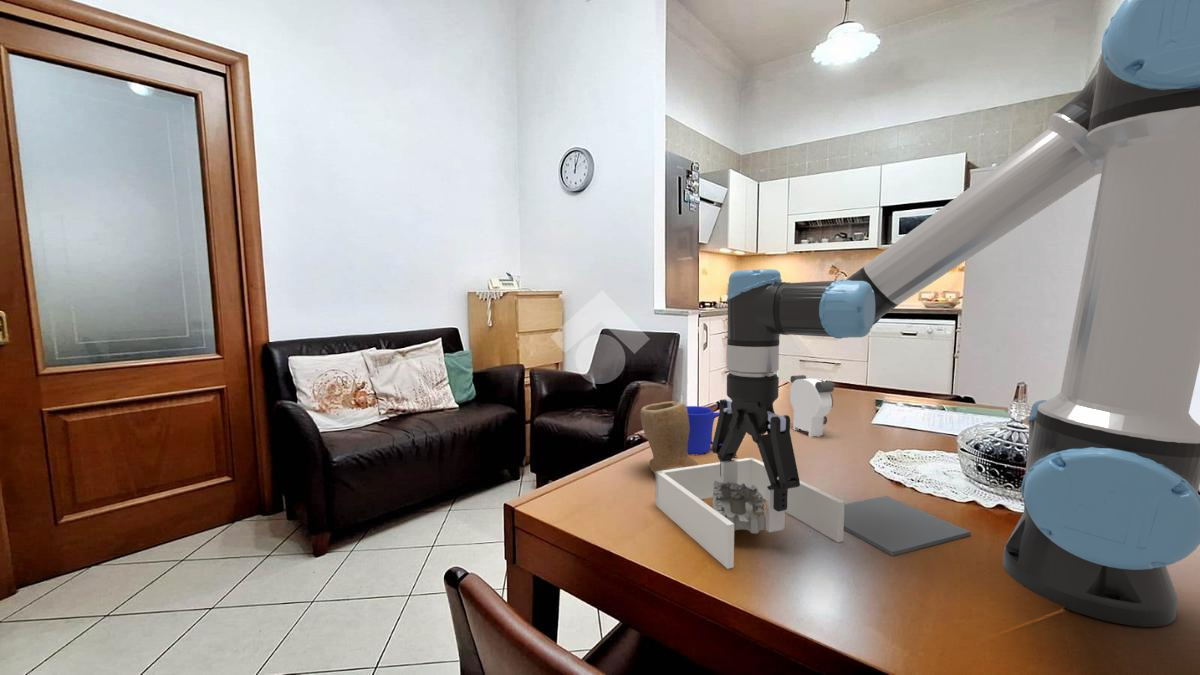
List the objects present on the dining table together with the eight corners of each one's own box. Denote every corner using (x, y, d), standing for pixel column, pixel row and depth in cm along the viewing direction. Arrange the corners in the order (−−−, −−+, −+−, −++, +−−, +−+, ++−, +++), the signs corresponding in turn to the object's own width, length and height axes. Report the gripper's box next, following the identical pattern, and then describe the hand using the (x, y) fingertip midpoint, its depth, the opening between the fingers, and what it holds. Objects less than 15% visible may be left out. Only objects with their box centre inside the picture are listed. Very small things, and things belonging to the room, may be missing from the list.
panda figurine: (844, 441, 119) (846, 381, 118) (806, 445, 116) (807, 383, 115) (810, 428, 131) (812, 373, 130) (774, 432, 128) (776, 375, 126)
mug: (733, 458, 107) (734, 414, 107) (679, 458, 108) (679, 414, 107) (724, 446, 116) (725, 405, 115) (674, 447, 116) (674, 406, 115)
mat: (970, 535, 72) (970, 531, 72) (892, 556, 67) (892, 551, 67) (886, 499, 85) (886, 495, 85) (815, 513, 80) (815, 510, 80)
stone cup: (636, 465, 103) (635, 396, 102) (690, 463, 105) (690, 394, 103) (650, 494, 88) (650, 413, 87) (714, 491, 90) (714, 411, 88)
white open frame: (843, 541, 71) (844, 501, 70) (727, 568, 64) (727, 525, 63) (751, 488, 90) (752, 457, 90) (655, 505, 84) (655, 471, 83)
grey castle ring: (767, 536, 68) (766, 508, 68) (713, 533, 70) (711, 506, 70) (761, 501, 78) (760, 477, 78) (714, 499, 80) (712, 476, 80)
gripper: (831, 383, 64) (827, 544, 66) (728, 362, 85) (727, 483, 87) (786, 387, 61) (782, 554, 63) (691, 364, 83) (690, 489, 85)
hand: (750, 513), depth 75 cm, fingers closed on grey castle ring, 10 cm apart
